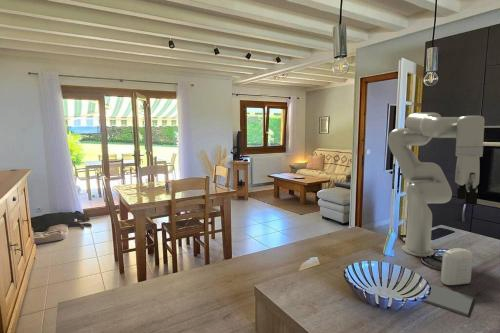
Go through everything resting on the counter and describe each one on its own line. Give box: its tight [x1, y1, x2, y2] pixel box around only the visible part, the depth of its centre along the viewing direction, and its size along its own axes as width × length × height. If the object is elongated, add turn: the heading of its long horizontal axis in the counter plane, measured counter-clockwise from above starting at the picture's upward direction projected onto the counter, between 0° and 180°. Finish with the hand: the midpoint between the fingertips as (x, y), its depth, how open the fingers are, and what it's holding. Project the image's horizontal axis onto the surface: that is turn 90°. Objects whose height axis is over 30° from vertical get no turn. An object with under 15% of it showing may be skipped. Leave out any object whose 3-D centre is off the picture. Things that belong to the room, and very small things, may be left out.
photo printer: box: [440, 247, 474, 286], centre depth 106 cm, size 10×4×12 cm, turn 103°
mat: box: [423, 284, 474, 317], centre depth 95 cm, size 12×12×1 cm
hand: (466, 201), depth 104 cm, fingers open, 9 cm apart
